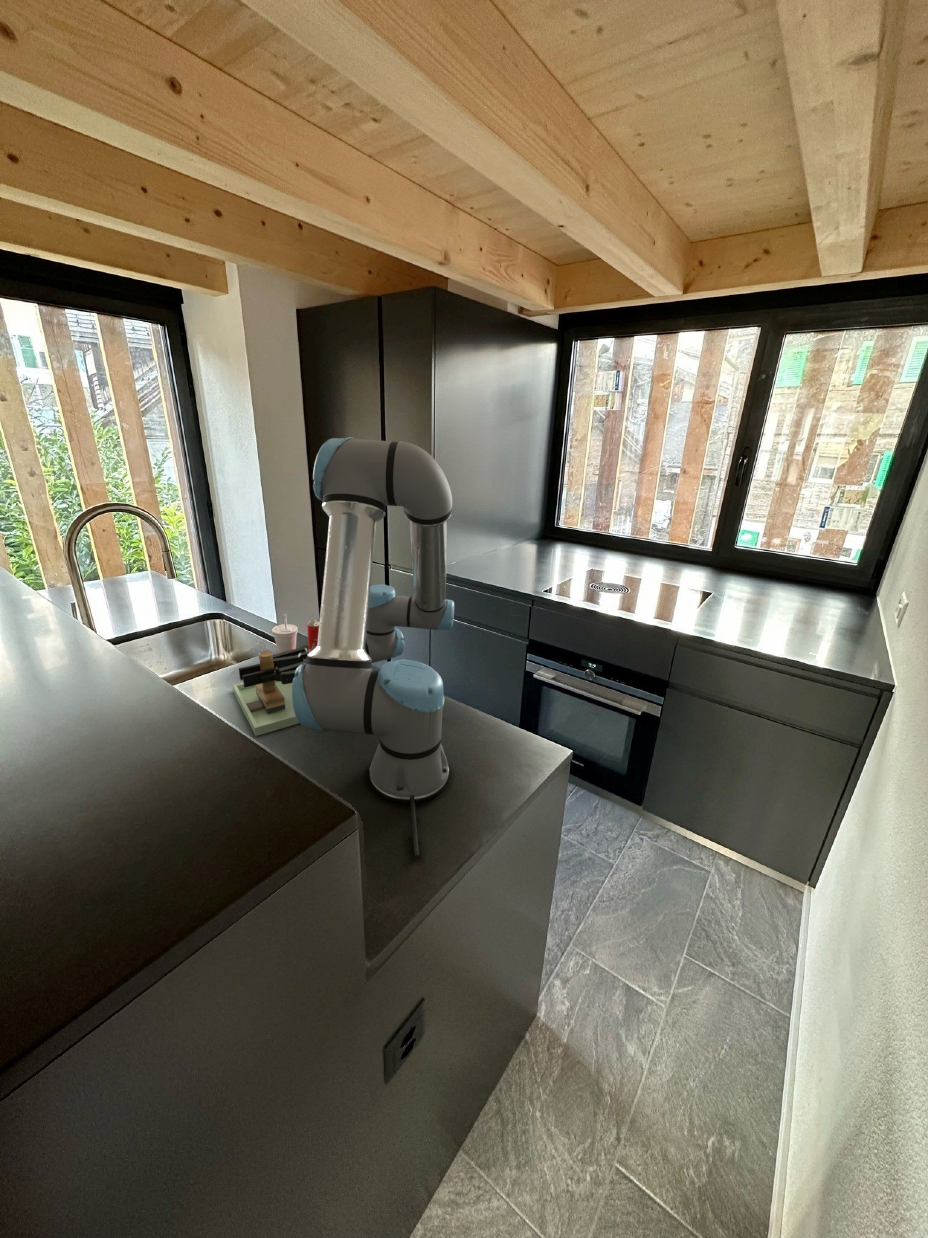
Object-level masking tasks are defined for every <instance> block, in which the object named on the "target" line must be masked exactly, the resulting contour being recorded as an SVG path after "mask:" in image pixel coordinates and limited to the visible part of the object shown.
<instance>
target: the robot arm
mask: <svg viewBox="0 0 928 1238" xmlns="http://www.w3.org/2000/svg"><path fill="white" fill-rule="evenodd" d="M312 480H313V485H312V487H313V488H312V489H313V492H314V495H315V497H316V499H318V500H319V501H320V502H322V504H321V508H322V510H323V511H324V512H325V514H326V515H327V516H328V518H329V519H328V530H327V541H326V551H325V559H324V561H325V562H324V571H323V583H322V591H321V592H322V593H321V604H320V611H319V612H320V613H319V619H320V622H319V632H318V642H317V646H316V648H315V649H313V650H311V649H309V645H308V644H305V645H302V646H300V647H298V648H297V647H296V649H293V650H290V651H286V652H282V653H278V652H277V653H275V654H272V655H273V665H274V669H273V668H272V669H268V670H263V671H261V669H260V663H256V664H252V665H251V664H250V665H246V666H243V667H239V668H238V674H239V680H240V681H242V683H244V687H249V686H254V685H258V684H262V683H267V682H271V681H275V680H276V681H281V682H282V684H289V683H292V703H293V709H294V713H295V716H296V717H297V720H298V722H299V723H298V724H300V725H301V726H302V727H304V728H306V729H310V730H316V731H321V732H323V733H327V732H337V733H350V734H359V735H360V734H361V735H373V736H374V735H375V736H378V745H377V747H376V750H375V753H374V756H373V758H372V760H371V762H370V767H369V783H370V785H371V787H372V789H373V790H374V792H376V794H377V795H379V796H380V797H382V798H383V799H385V800H387V801H389V802H393V803H397V804H403V805H404V804H405V805H406V804H407V805H409V804H410V815H411V827H412V828H411V830H412V840H413V851H414V853H413V854H414V858H415V859H419V858H420V848H419V839H418V827H417V815H416V804H420V803H423V802H427V801H430V800H432V799H434V798H436V797H437V796H438V795H439V794H441V793H442V792H443V791H444V789H445V788H446V787H447V785H448V781H449V776H450V775H449V774H450V767H449V762H448V759H447V757H446V754H445V750H444V748H443V744H442V734H443V733H442V729H443V708H444V705H445V696H444V681H443V679H442V677H441V675H440V674H439V672H437V671H436V670H434V669H433V667H431V666H429V665H428V664H426V663H423V662H420V661H417V660H414V659H396V660H391V659H394V658H397V657H400V656H401V655H403V653H404V651H405V647H406V643H405V641H404V635H403V633H402V631H401V630H400V629H399V627H400V628H402V627H403V628H411V629H412V628H414V629H421V630H422V629H423V630H434V631H438V630H441V631H449V630H451V629H452V628H453V626H454V618H455V602H454V600H452V599H447V544H448V542H447V541H448V539H447V537H448V535H447V534H448V532H447V531H448V520H449V519H450V518H451V517H452V513H453V496H452V495H453V494H452V490H451V487H450V484H449V481H448V479H447V477H446V475H445V472H444V471H443V469H442V468H441V466H440V465H439V463H438V462H437V461H436V460H435V458H434V457H433V456H432V455H431V454H430V453H429V452H427V451H426V450H425V449H423V448H422V447H420V446H418V445H416V444H414V443H411V442H407V441H391V440H376V439H365V438H354V437H352V436H351V437H350V436H349V437H344V438H343V437H342V438H341V437H340V438H339V437H333V438H330V439H327V440H326V441H325V442H324V443H323V444H321V446H320V448H319V450H318V452H317V454H316V457H315V460H314V466H313V473H312ZM387 506H390V507H402V508H403V513H404V516H405V518H406V519H407V520H408V521H409V534H410V535H409V536H410V551H411V564H412V565H411V567H412V583H413V596H405V595H397V594H396V590H395V588H394V587H393V586H391V585H387V584H373V585H371V584H372V576H373V575H372V574H373V562H374V554H375V553H374V551H375V542H376V531H377V524H378V523H379V522H380V521H381V520H383V519H384V518H385V517H386V511H387V510H386V509H387ZM397 627H398V628H397ZM388 660H389V661H388ZM383 661H387V662H386V663H383V665H381V667H380V668H379V669H372V664H374V663H378V662H383Z"/></svg>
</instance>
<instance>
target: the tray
mask: <svg viewBox="0 0 928 1238" xmlns="http://www.w3.org/2000/svg"><path fill="white" fill-rule="evenodd" d="M275 684H276V685H277V687H278V688H279V690H280V692H281V693H282V695H283V696H284V700H285V709H283V710H279V711H275V712H272V713H268V714H267V712H266V711H265V709H262V710H258V711H255V712H250V710H249V708H248V706H247V703H250V702H254V701H258V700H259V698H258V696H257V695H256V686H255V685H254V686H249V687H244V683H243V682H240V683H236V684H232V691H233V694H234V697H235V698H236V701H237V702H238V704H239V707H240V708H241V710H242V712H243V714H244V716H245V718H246V720H247V723H248V724H249V727H250V728H251V730H252V732H253V734H254V736H255V737H257V736H262V735H264V734H268V733H271V732H274V731H278V730H281V729H284V728H288V727H291V726H295V725H299V724H300V723H299V722H298V720H297V717H296V716H295V713H294V709H293V703H292V683H289V684H282V682H281V681H276V680H275Z"/></svg>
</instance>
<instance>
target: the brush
mask: <svg viewBox="0 0 928 1238" xmlns="http://www.w3.org/2000/svg"><path fill="white" fill-rule="evenodd" d="M273 655H274V654H273V651H270V650H263V651H261V652H259V653H258V660H259V664H260V669H261V671H263V670H268V669H272V668H273V669H274V665H273ZM255 686H256V695H257V696H258V698H259V700H260V701H261V703H262V705H263V707H264V709H265V711H266V712H267V714H268V713H272V712H275V711H279V710H283V709H285V700H284V696H283V695H282V693H281V692H280V690H279V688H278V687H277V685H276V684H275V681H271V682H267V683H262V684H258V685H255Z"/></svg>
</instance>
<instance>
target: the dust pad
mask: <svg viewBox="0 0 928 1238" xmlns="http://www.w3.org/2000/svg"><path fill="white" fill-rule="evenodd" d="M247 706H248V708H249V710H250V712H255V711H258V710H262V709H264V707H263V705H262V703H261V701H260V700H258V701H254V702H250V703H247Z"/></svg>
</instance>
